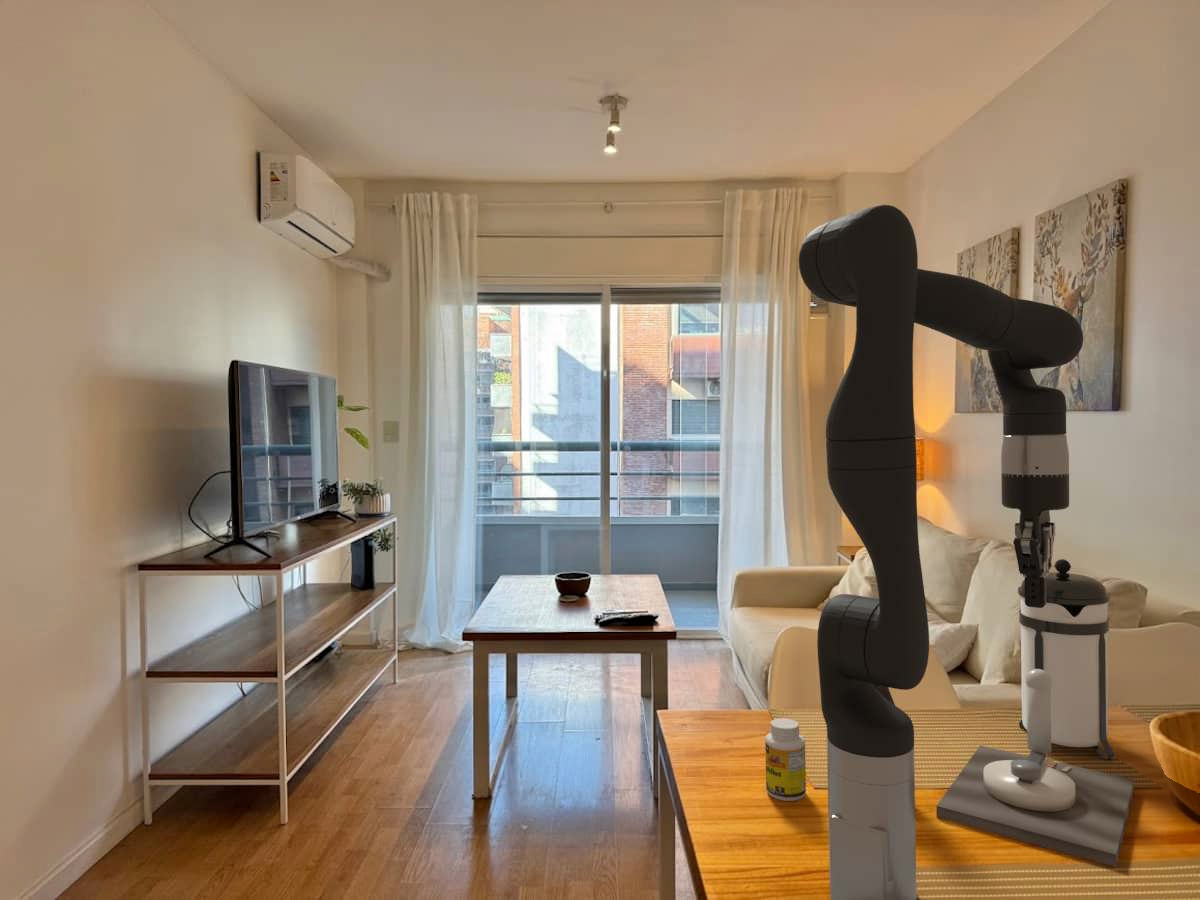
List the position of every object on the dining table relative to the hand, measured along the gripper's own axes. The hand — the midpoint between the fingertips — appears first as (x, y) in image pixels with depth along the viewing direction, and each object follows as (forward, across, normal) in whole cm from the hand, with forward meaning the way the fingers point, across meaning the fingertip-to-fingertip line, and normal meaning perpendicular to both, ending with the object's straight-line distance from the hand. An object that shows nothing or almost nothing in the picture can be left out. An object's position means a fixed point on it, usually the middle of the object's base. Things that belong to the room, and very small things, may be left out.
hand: (1035, 606), depth 98 cm
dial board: (+29, +8, +1) cm, 30 cm away
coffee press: (+29, +33, +2) cm, 44 cm away
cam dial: (+27, +9, +2) cm, 29 cm away
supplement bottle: (+29, -10, +30) cm, 43 cm away
